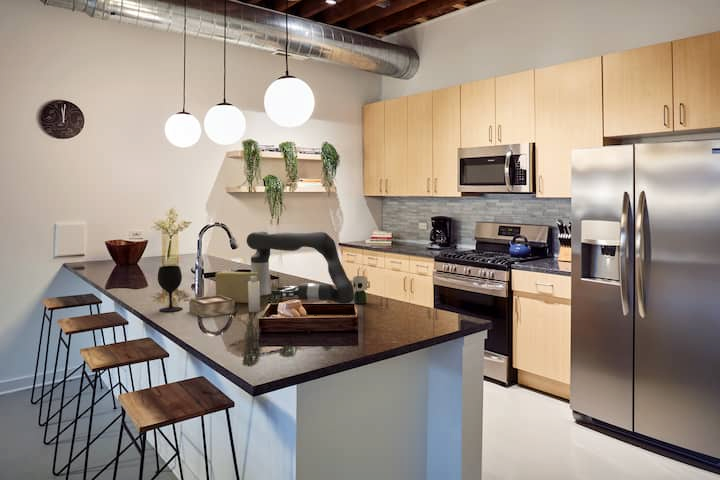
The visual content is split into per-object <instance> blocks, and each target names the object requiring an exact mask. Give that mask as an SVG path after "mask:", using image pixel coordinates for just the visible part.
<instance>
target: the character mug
mask: <svg viewBox="0 0 720 480" xmlns="http://www.w3.org/2000/svg"><path fill="white" fill-rule="evenodd" d="M349 280H350V282H351V283H352V286H353V290H354V300H353V304H363V305H364V304H365V303H367V295H366V290H367V289H370V288H371V281H369V280H368V276H367V275H353V276H352V279H349Z"/></svg>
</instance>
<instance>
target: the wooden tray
mask: <svg viewBox="0 0 720 480" xmlns="http://www.w3.org/2000/svg"><path fill="white" fill-rule="evenodd" d="M188 302H189V303H188V305H189V307H188V309H189V310H188V311H189V312H190V313H192V314H194V315H196V316H198V317H200V318H209V317H214V316H215V317H216V316H221V315H228V314H234V313H235V302H234V301H233V299H230V298H227V297H225V296H222V295H216V294H215V295H209V296H200V297H199V296H198V297H192V298H190V300H188Z"/></svg>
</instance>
